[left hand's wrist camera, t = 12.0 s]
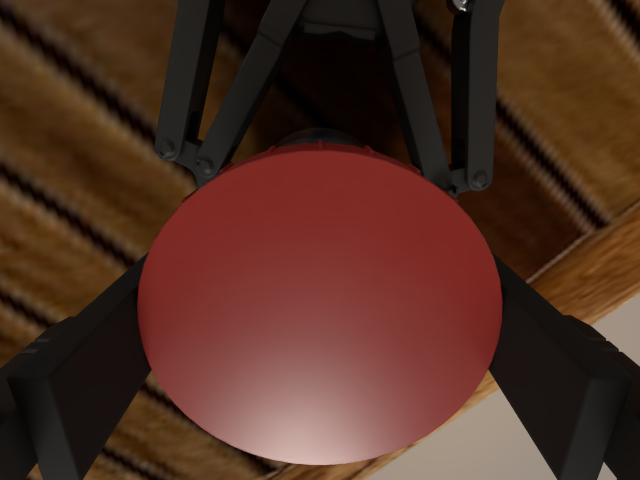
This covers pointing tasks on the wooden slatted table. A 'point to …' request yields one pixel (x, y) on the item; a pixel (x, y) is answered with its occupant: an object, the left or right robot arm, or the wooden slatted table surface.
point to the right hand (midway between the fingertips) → (312, 295)
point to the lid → (319, 305)
